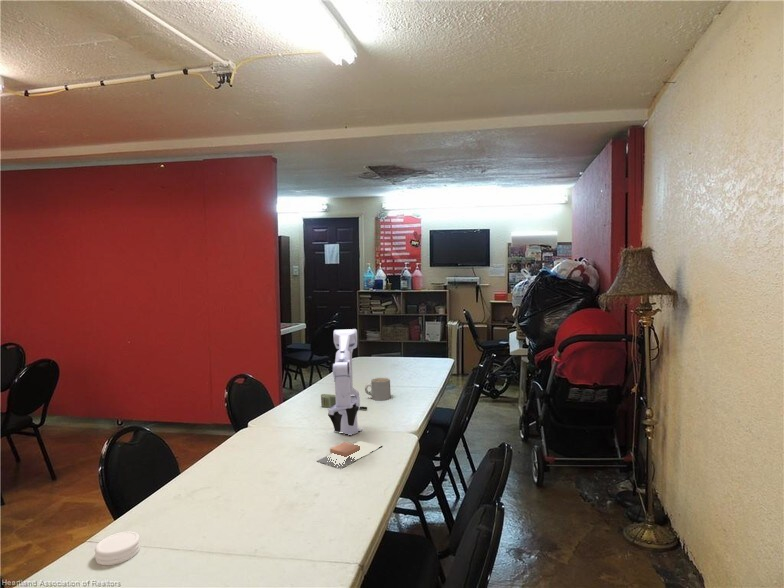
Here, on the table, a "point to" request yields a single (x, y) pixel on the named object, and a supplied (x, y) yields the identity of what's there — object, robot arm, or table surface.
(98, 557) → the white thick disc
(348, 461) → the rubber mat
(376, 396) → the coffee mug
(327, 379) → the table surface
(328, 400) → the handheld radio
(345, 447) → the peach square slab
